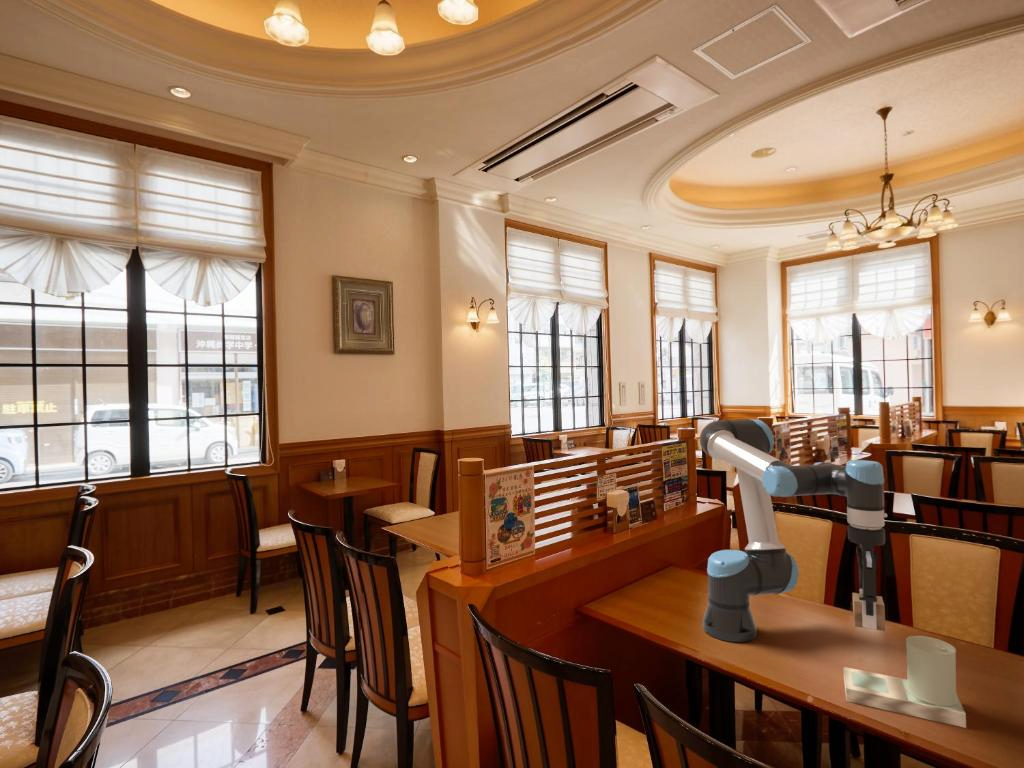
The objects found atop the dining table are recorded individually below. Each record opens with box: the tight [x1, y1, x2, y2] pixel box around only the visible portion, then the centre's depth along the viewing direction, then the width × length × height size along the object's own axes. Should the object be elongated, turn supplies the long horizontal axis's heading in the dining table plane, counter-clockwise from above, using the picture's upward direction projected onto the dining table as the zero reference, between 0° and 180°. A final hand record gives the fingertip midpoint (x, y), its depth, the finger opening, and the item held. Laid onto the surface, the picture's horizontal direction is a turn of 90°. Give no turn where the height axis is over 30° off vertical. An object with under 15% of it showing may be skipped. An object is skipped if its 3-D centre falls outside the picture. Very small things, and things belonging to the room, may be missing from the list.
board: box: [843, 666, 967, 729], centre depth 127 cm, size 22×11×3 cm, turn 61°
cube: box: [852, 592, 886, 632], centre depth 130 cm, size 6×6×6 cm
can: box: [905, 635, 958, 706], centre depth 124 cm, size 9×9×12 cm
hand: (868, 622), depth 130 cm, fingers closed on cube, 6 cm apart
